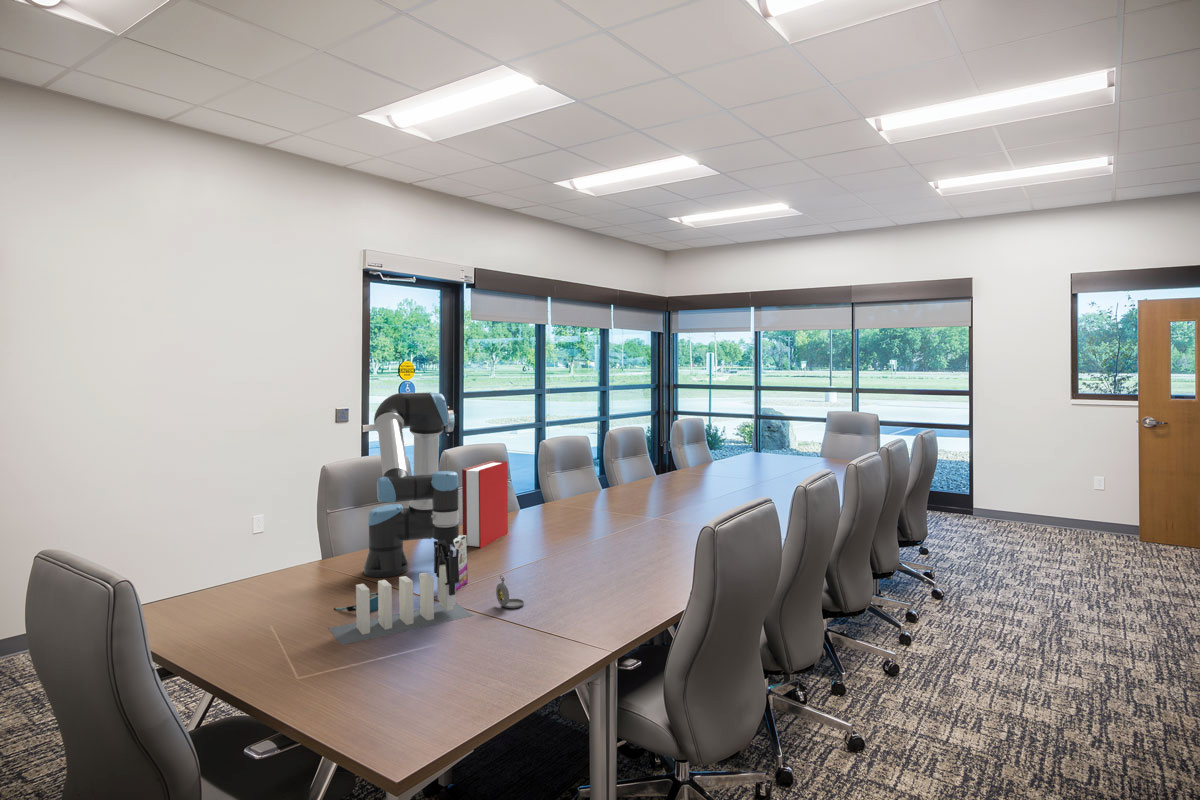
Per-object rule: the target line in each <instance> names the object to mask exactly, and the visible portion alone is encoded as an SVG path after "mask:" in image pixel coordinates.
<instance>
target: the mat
mask: <svg viewBox="0 0 1200 800" xmlns="http://www.w3.org/2000/svg"><path fill="white" fill-rule="evenodd" d="M473 616H474V614H473V613H471V612H470V611H469V610H468V609H466V608H464V607H463V606H461V605H460V604H459V603H457V602H456V605H454V609H452V610H446V609H445V608H443V607H442V606H441V605H439V604H438V605H434V619H431V620H426V619H425V618H424V617H423V616H422V615H420V608H418V609H413V624H409V625H406V624H405V623H404V622H403V621H402V620H401V619H400V612H399V613H395V614H392V628H390V629H386V630H385V629H384V628H383V627H382V626H381V625H380V624H379V621H378V617H375V618H370V633H368V634H363V635H362V633H361V632H360V631H359V630H358V629H357V621H355V622H352V623H348V624H343V625H342V624H341V625H337V626H334V627H332V626H331V627H328V630H329V631H330V632H331V634H332V635H333V637H334V638H335V639H336V640H337V642H338V643H339V644H340V646H344V645H349V644H353V643H359V642H363V641H367V640H371V639H376V638H380V637H384V636H390V635H393V634H399V633H402V632H406V631H411V630H416V629H422V628H425V627H429V626H434V625H438V624H442V623H446V622H452V621H456V620H460V619H464V618H468V617H469V618H470V617H473Z"/></svg>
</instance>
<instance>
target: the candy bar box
mask: <svg viewBox="0 0 1200 800" xmlns="http://www.w3.org/2000/svg"><path fill="white" fill-rule="evenodd" d="M454 545H455V549H459V555H458V564H459V583H456V592H457V591H458V590H459V589H461V588H462V587H464V586H466V585H467V584H468V578H469V576H468V546H467V535H463V534H459V536H458V537H457V538H455V539H454Z"/></svg>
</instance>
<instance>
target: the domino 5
mask: <svg viewBox="0 0 1200 800" xmlns="http://www.w3.org/2000/svg"><path fill="white" fill-rule="evenodd" d="M445 583H447V577H446V569H445V564H443V565H440V566H439V600H438V601H439V604H438V605H441V606H442V607H443V608H445V609H446V610H452V609H454V605H453V606H448V607H447V606H446V585H445Z"/></svg>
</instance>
